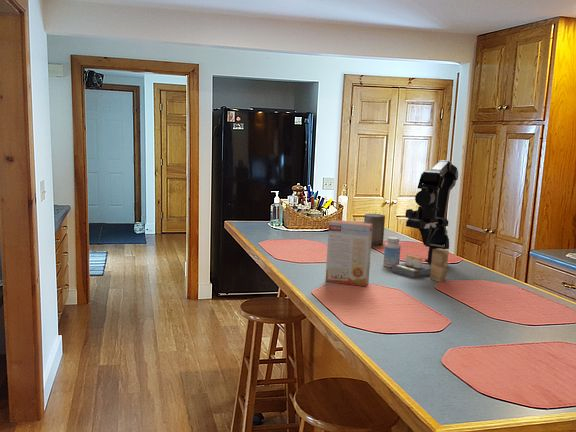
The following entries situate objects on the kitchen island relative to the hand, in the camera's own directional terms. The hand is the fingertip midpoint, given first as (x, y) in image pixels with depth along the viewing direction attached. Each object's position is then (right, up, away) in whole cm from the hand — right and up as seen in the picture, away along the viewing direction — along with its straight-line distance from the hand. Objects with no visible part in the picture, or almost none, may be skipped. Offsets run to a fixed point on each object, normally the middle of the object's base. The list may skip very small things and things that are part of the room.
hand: (425, 245), depth 199 cm
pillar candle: (-12, -2, +51) cm, 53 cm away
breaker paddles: (-5, -8, -2) cm, 9 cm away
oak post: (+2, -12, -9) cm, 15 cm away
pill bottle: (-12, -9, +8) cm, 16 cm away
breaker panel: (-5, -10, -2) cm, 12 cm away
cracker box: (-32, -12, -20) cm, 39 cm away
